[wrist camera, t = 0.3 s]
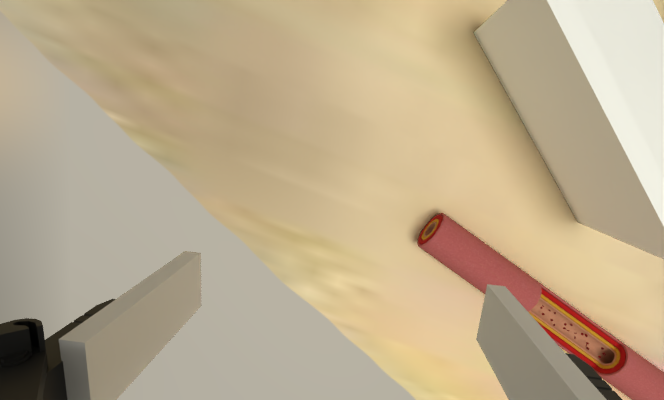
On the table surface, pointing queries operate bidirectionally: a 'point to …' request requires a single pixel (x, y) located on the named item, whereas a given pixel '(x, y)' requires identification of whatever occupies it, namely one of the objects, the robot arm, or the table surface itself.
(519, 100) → the rail panel
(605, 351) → the blood vessel
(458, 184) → the table surface
